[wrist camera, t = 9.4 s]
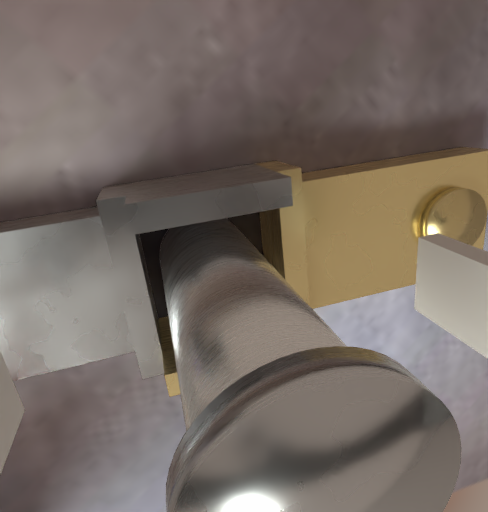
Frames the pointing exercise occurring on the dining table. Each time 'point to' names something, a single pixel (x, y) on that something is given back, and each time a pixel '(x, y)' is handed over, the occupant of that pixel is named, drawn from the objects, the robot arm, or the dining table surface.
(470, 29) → the dining table surface
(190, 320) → the pin
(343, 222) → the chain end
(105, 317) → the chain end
